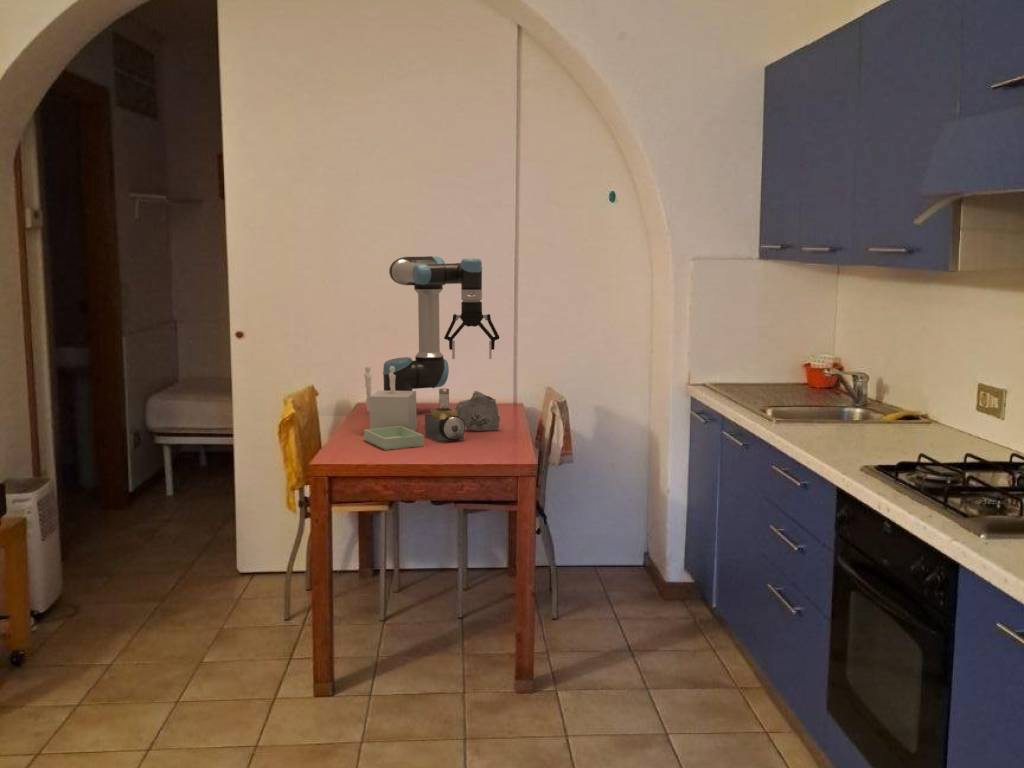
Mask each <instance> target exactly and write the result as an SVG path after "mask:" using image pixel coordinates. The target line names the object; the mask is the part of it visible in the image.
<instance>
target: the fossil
mask: <svg viewBox="0 0 1024 768" xmlns="http://www.w3.org/2000/svg"><path fill="white" fill-rule="evenodd" d="M496 401H497V399H495V398H493V397H492V396H490V395H486V394H484V393H482V392H481V391H478V390H475V391H473V392H472V396H471V397H470V398H469V399H463V400H460V401H459V402H458V403H457V404H456V405H455V407H454V409H455V410H457V416H460V417H463V418H464V423H465V429H467V430H468V431H476V432H481V431H498V430H499V428H500V421H501V420H500V419H501V418H500V416H501V415H499V409H498V405H497V403H496Z"/></svg>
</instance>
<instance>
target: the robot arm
mask: <svg viewBox="0 0 1024 768" xmlns="http://www.w3.org/2000/svg"><path fill="white" fill-rule="evenodd" d="M388 273H389V277H390V279H391V280H393V282H395V283H396V284H398V285H402V286H414V287H413V288H414V291H415V293H417V299H418V300H417V301H418V302H417V304H418V306H417V307H418V308H417V309H418V315H417V316H418V352H417V353H416V355H415V356H414V357H415V360H413V359H412V357H407V356H406V357H405V356H403V357H396V358H391V359H388V360H386V361H385V362H384V363H383V367H382V368H383V369H382V370H383V371H382V374H383V391H391V388H390V378H389V373H390V370H389V368H390V367H391V366H394V367H395V372H393V374H394V375H396V376H395V377H396V378H395V391H413V390H416V389H435V388H441V387H442V388H443V387H444V385H445V384H446V383H447V380H448V378H449V374H450V373H449V372H450V371H449V362H448V360H447V359H445V358H444V355H443V353H442V352H441V350H440V349H441V347H440V346H441V345H440V342H441V341H440V339H441V338H440V293H441V292H442V291H443V288H444V287H443V286H445V285H453V284H455V285H458V284H459V285H460V284H461V289H460V290H461V292H460V293H461V294H460V295H461V297H460V298H461V301H462V302H461V303H460V305H461V306H460V307H461V308H460V309H461V313H460V314H456V313H453V314H452V321H451V323H450V324H449V326H448V329H447V331H446V333H445V335H444V337H443V339H444V340H446V341H448V350H451V351H452V353H451V355H452V357H451V358H452V360H455V359H456V358H455V357H456V355H455V354H456V353H455V352H456V351H455V350H456V349H455V344H456V343H455V340H454V339H455V338H456V337H457V335H458V334H459V333H460V332H461V330H462V329H463V328H464V327H465V326H466V327H467V328H469V327H474V328H475V327H477V326H478V327H479V328H480V329H481V330H482V331H483V333H484V334H485V335H486V336H487V337H488V338H489V343H488V345H489V347H488V349H489V351H488V353H489V354H488V356H489V357H488V358H489V360H492V350H493V351H494V350H495V343H496V341H497V340H499V339H500V335H499V334H498V331H497V329H496V327H495V325H494V323H493V322H492V318H491V314H490V313H487V314H483V303H482V299H483V290H482V289H483V267H482V260H481V259H480V258H462V259H461V262H456V263H446V262H445V261H444V259H443V258H442V257H440V256H432V255H429V256H427V255H426V256H403V257H400V258H397V259H395V260H394V261H393V262H392V263H391V264H390V266H389V270H388ZM459 319H460V320H461V321H462V323H461V324H460V325H459V326H458V327H457V328H456V330H455V331H454V332H453V334H451V332H452V329H453V328H454V325H455V324H456V321H459ZM483 319H484V321H487V323H488V325H489V327H490V329H491V331H492V333H493V334H491V332H490V331H489V330H488V329H487V328H486V327H485V326H484V324H483V323H482V321H483ZM450 334H451V336H450ZM493 335H494V336H493ZM417 411H418V410H417V408H416V416H417V414H418V412H417Z"/></svg>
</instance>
